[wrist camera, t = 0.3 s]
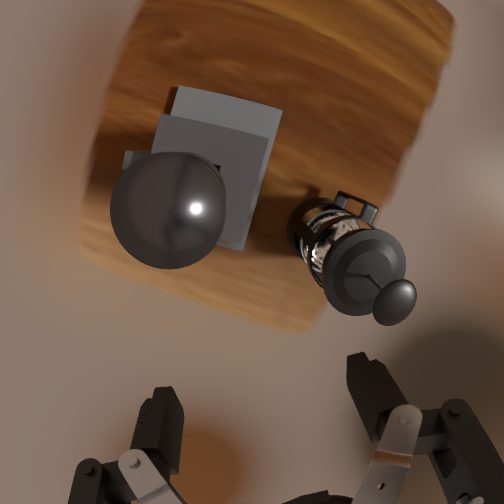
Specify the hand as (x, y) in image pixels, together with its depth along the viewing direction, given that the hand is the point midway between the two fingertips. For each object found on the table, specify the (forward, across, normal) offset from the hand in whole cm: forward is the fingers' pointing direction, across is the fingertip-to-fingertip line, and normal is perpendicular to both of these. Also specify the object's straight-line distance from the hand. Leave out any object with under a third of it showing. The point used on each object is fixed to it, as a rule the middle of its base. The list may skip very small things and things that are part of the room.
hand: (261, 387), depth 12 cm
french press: (+31, -11, +3) cm, 33 cm away
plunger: (+16, +2, -8) cm, 18 cm away
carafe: (+30, +4, -8) cm, 31 cm away
